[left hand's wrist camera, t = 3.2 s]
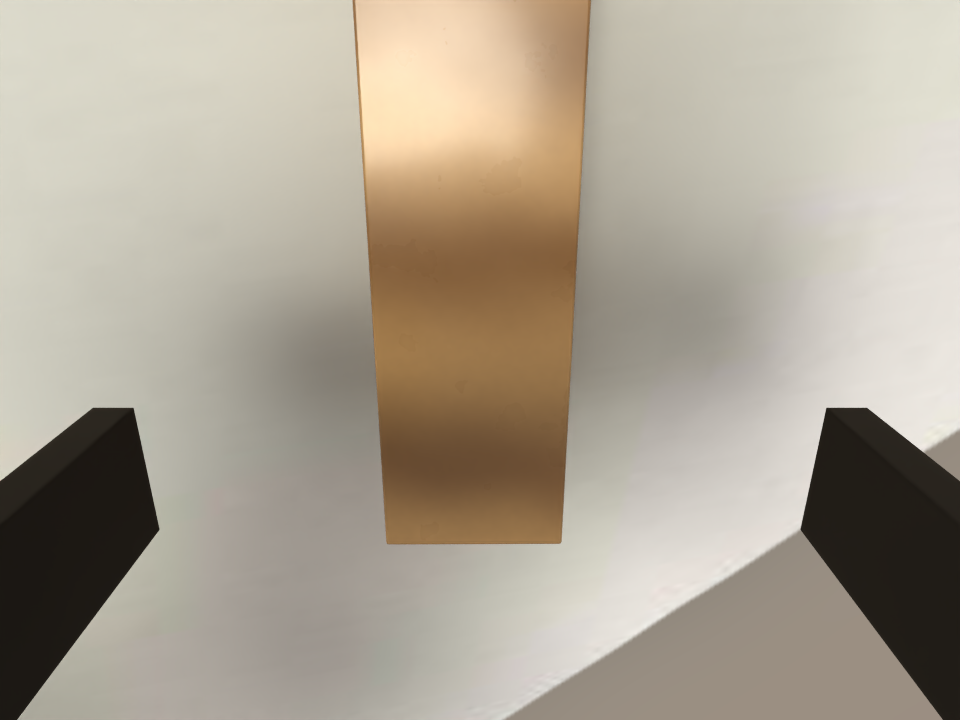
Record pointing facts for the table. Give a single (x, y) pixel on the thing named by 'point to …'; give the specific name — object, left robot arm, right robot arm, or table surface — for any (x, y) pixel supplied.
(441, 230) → the post
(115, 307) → the table surface
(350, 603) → the table surface
